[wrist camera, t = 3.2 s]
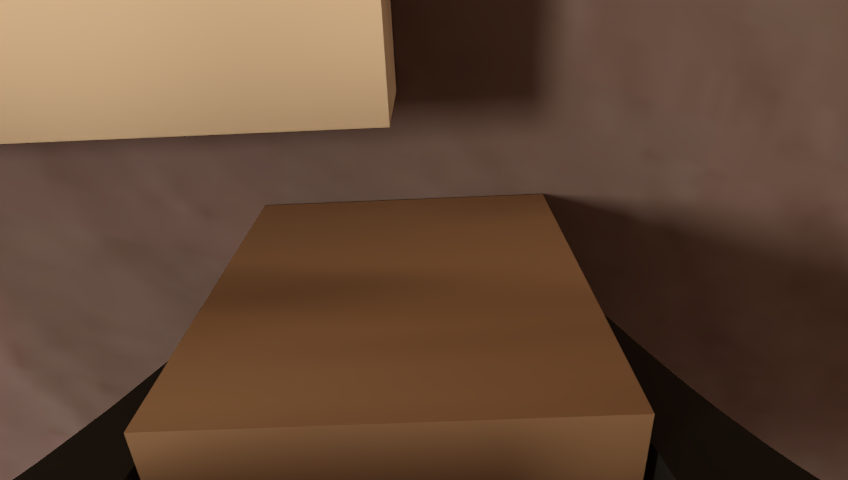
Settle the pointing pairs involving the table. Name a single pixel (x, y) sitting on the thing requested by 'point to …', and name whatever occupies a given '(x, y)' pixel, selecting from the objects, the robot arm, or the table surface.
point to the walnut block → (398, 354)
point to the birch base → (192, 67)
